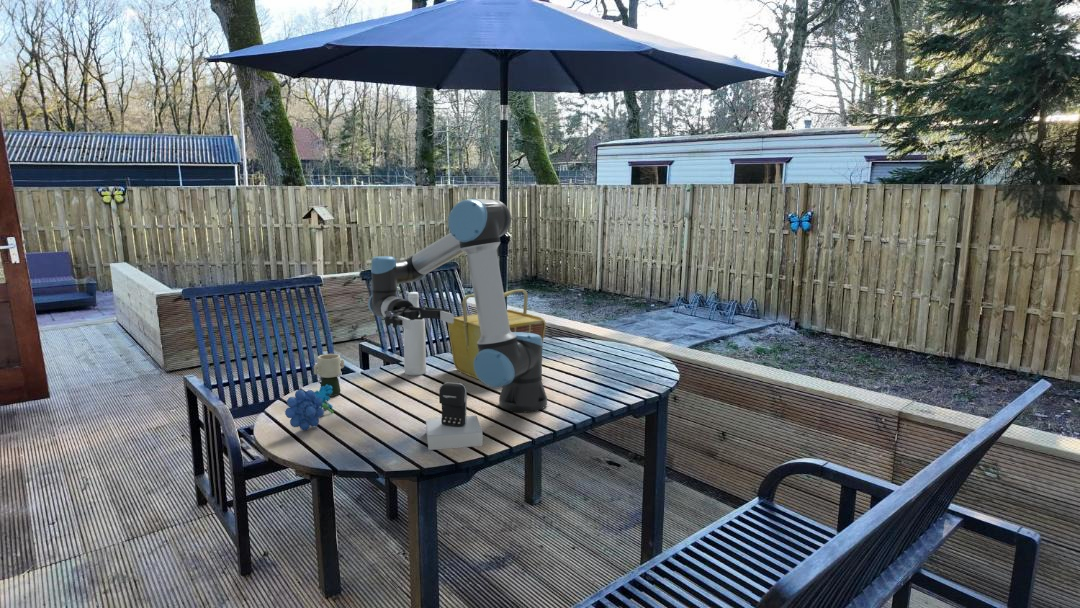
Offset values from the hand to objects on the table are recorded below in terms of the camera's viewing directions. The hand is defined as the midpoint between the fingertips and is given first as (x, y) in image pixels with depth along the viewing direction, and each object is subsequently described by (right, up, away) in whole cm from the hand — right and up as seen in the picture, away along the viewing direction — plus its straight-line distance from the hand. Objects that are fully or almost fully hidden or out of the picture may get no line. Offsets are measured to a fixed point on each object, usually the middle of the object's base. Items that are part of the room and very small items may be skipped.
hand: (431, 321), depth 175 cm
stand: (+7, -32, -6) cm, 33 cm away
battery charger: (+7, -28, -7) cm, 30 cm away
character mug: (-38, -25, +30) cm, 55 cm away
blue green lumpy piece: (-36, -28, +15) cm, 48 cm away
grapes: (-34, -31, -2) cm, 46 cm away
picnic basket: (+14, -20, +61) cm, 66 cm away
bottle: (-16, -21, +56) cm, 62 cm away
